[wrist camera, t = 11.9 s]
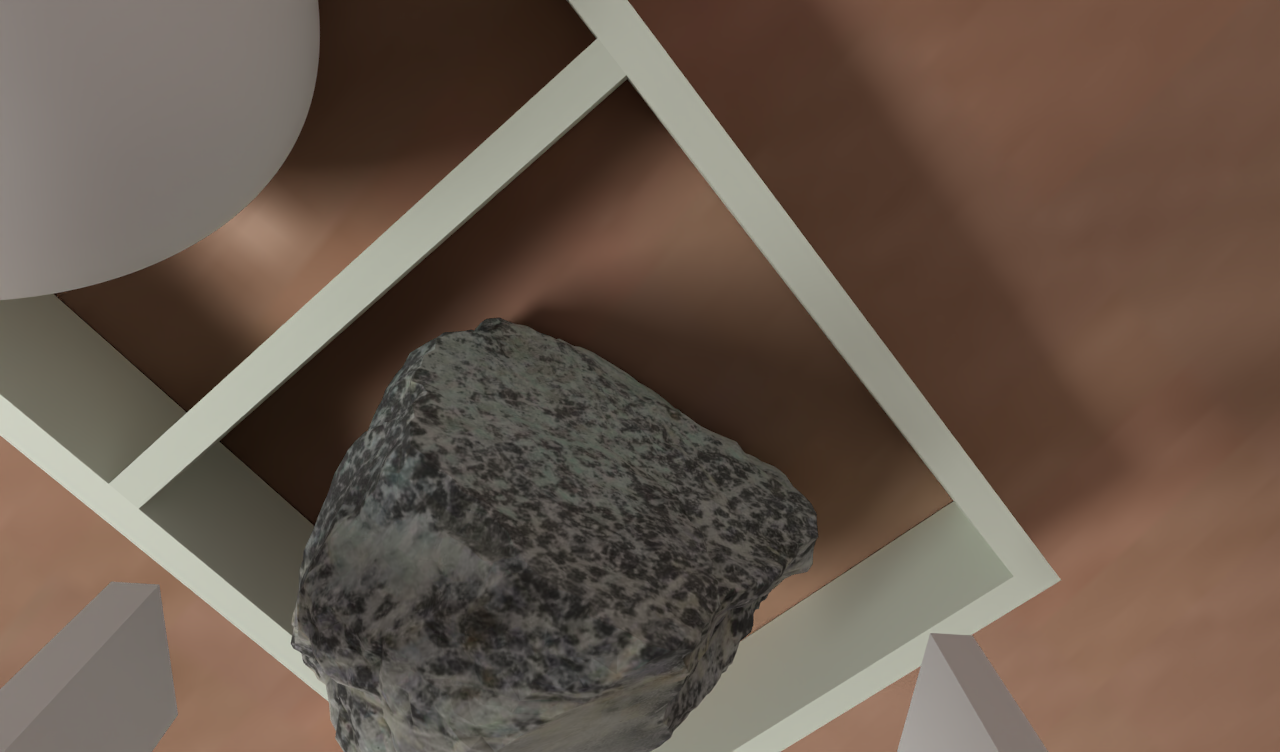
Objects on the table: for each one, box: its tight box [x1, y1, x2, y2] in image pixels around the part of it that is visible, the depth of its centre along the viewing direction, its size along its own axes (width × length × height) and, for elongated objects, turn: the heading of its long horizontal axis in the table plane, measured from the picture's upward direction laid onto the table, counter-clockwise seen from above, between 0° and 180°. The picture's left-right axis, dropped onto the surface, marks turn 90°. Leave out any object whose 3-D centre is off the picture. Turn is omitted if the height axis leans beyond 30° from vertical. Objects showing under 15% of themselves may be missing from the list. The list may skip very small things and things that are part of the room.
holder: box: [0, 0, 1061, 752], centre depth 17 cm, size 30×16×4 cm, turn 39°
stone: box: [291, 318, 818, 752], centre depth 17 cm, size 10×10×10 cm
